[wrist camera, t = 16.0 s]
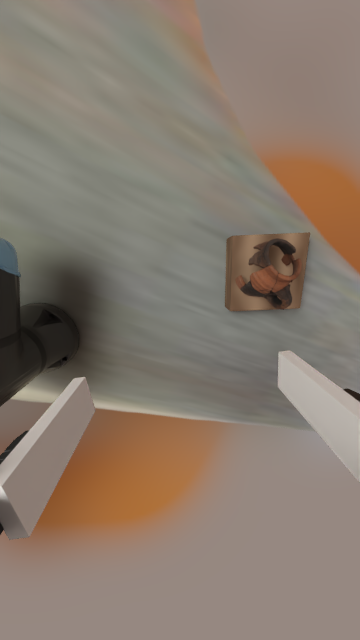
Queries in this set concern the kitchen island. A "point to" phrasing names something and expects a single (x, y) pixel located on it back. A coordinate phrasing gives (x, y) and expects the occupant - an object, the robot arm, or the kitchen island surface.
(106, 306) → the kitchen island surface
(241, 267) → the walnut riser block
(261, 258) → the brown piece
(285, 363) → the robot arm
